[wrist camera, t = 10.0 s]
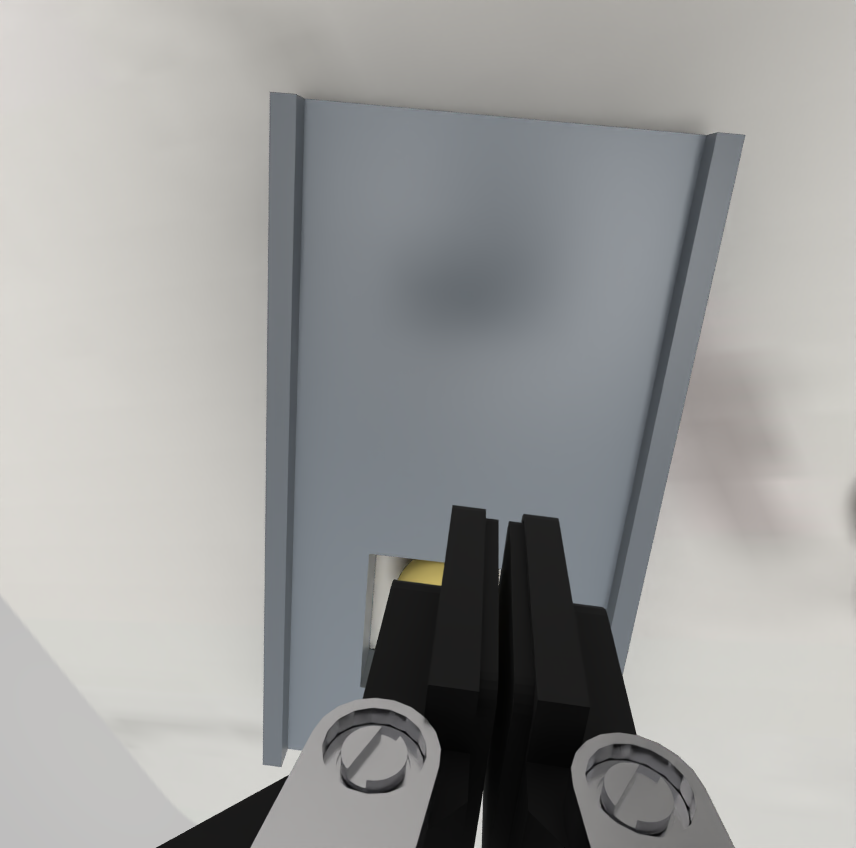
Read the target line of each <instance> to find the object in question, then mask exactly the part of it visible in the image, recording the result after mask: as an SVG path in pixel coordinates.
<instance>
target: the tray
mask: <svg viewBox="0 0 856 848" xmlns="http://www.w3.org/2000/svg"><path fill="white" fill-rule="evenodd" d="M744 139H745V135H741V134H730V133H719V132H717V133H713V134H709V135H700V134H689V133H678V132H667V131H656V130H645V129H634V128H623V127H612V126H601V125H589V124H578V123H567V122H556V121H545V120H534V119H523V118H512V117H501V116H490V115H479V114H468V113H457V112H446V111H435V110H424V109H413V108H402V107H391V106H380V105H369V104H358V103H347V102H336V101H325V100H314V99H304V98H303V97H301V96H299V95H297V94H288V93H277V92H270V136H269V230H268V325H267V420H266V514H265V609H264V703H263V765H270V766H277V767H282V764H283V761H284V758H285V755H286V752H287V749H294V750H303V748H304V746H305V744H306V742H307V741H308V739H309V737H310V735H311V733H312V731H313V730H314V728H315V727H316V726H317V724H318V723H319V722H320V721H321V719H322V718H323V717H324V716H325V715H327V714H328V713H329V712H331V711H332V710H334V709H335V708H337V707H338V706H340V705H343V704H346V703H349V702H352V701H354V700H359V699H363V695H364V691H365V687H366V683H367V679H368V675H369V671H370V667H371V663H372V660H373V656H374V652H375V650H373V649H369V646H370V633H371V619H372V605H373V592H374V578H375V565H376V555H385V556H393V557H402V558H410V559H419V560H427V561H436V562H444V563H445V556H446V548H447V541H448V534H449V527H450V519H451V512H452V505H457V506H465V507H474V508H482V509H486V518H489V519H497V520H499V569H501V568H502V561H503V555H504V548H505V541H506V534H507V528H508V523H509V521H513V522H521V520H522V516H523V514H530V515H538V516H546V517H554V518H558V519H559V523H560V529H561V535H562V541H563V547H564V553H565V559H566V565H567V571H568V577H569V583H570V589H571V595H572V601H573V603H576V604H584V605H592V606H599V607H603V608H605V609H606V612H607V615H608V618H609V622H610V626H611V631H612V635H613V639H614V643H615V647H616V651H617V656H618V660H619V664H620V668H621V672H622V675H623V671H624V666H625V662H626V657H627V653H628V649H629V644H630V640H631V635H632V631H633V627H634V622H635V618H636V613H637V609H638V605H639V600H640V596H641V591H642V587H643V583H644V578H645V574H646V569H647V565H648V561H649V556H650V552H651V548H652V543H653V539H654V534H655V530H656V526H657V521H658V517H659V512H660V508H661V504H662V499H663V495H664V490H665V486H666V482H667V477H668V473H669V468H670V464H671V460H672V455H673V451H674V446H675V442H676V438H677V433H678V429H679V424H680V420H681V416H682V411H683V407H684V402H685V398H686V394H687V389H688V385H689V380H690V376H691V372H692V367H693V363H694V358H695V354H696V350H697V345H698V341H699V337H700V332H701V328H702V323H703V319H704V315H705V310H706V306H707V301H708V297H709V293H710V288H711V284H712V279H713V275H714V271H715V266H716V262H717V257H718V253H719V249H720V244H721V240H722V235H723V231H724V227H725V222H726V218H727V213H728V209H729V205H730V200H731V196H732V191H733V187H734V183H735V178H736V174H737V169H738V165H739V161H740V156H741V152H742V147H743V143H744Z"/></svg>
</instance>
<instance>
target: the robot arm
mask: <svg viewBox="0 0 856 848" xmlns="http://www.w3.org/2000/svg"><path fill="white" fill-rule="evenodd" d="M482 794H483V821H482V848H735V847H734V845H733V843H732V841H731V839H730V837H729V835H728V833H727V831H726V829H725V827H724V825H723V823H722V821H721V819H720V817H719V815H718V813H717V811H716V809H715V807H714V805H713V803H712V801H711V799H710V797H709V795H708V793H707V791H706V789H705V787H704V785H703V784H702V782H701V781H700V779H699V778H698V776H697V775H696V773H695V772H694V770H693V769H692V768H690V767H689V766H688V765H687V764H686V763H685V762H684V761H683V760H682V759H681V758H680V757H679V756H678V755H677V754H675V753H673V752H672V751H670V750H669V749H667V748H665V747H664V746H662V745H661V744H659V743H657V742H654V741H651V740H649V739H646V738H644V737H641V736H638V735H636V730H635V726H634V722H633V718H632V714H631V710H630V706H629V701H628V697H627V693H626V689H625V685H624V681H623V676H622V672H621V668H620V664H619V660H618V656H617V651H616V647H615V643H614V639H613V635H612V631H611V626H610V622H609V618H608V615H607V612H606V609H605V608H603V607H599V606H592V605H584V604H576V603H573V601H572V595H571V589H570V583H569V577H568V571H567V565H566V559H565V553H564V547H563V541H562V535H561V529H560V523H559V519H558V518H554V517H546V516H538V515H530V514H523V516H522V520H521V522H513V521H509V523H508V528H507V534H506V541H505V548H504V555H503V561H502V568H501V575H500V581H499V520H497V519H489V518H486V509H482V508H474V507H465V506H457V505H452V512H451V519H450V527H449V534H448V541H447V548H446V556H445V563H444V570H443V577H442V585H441V586H440V585H432V584H425V583H417V582H409V581H402V580H393V582H392V586H391V589H390V593H389V597H388V601H387V605H386V609H385V613H384V617H383V621H382V624H381V628H380V632H379V636H378V640H377V644H376V648H375V652H374V656H373V660H372V663H371V667H370V671H369V675H368V679H367V683H366V687H365V691H364V695H363V699H359V700H354V701H352V702H349V703H346V704H343V705H340V706H338V707H337V708H335V709H334V710H332V711H331V712H329V713H328V714H327V715H325V716H324V717H323V718H322V719H321V721H320V722H319V723H318V724H317V726H316V727H315V728H314V730H313V731H312V733H311V735H310V737H309V739H308V741H307V742H306V744H305V746H304V748H303V750H302V752H301V754H300V756H299V757H298V759H297V761H296V763H295V765H294V767H293V769H292V771H291V772H290V774H289V775H288V776H286V777H284V778H282V779H281V780H279V781H277V782H275V783H273V784H271V785H270V786H268V787H266V788H264V789H262V790H261V791H259V792H257V793H255V794H253V795H251V796H250V797H248V798H246V799H244V800H242V801H240V802H239V803H237V804H235V805H233V806H231V807H229V808H228V809H226V810H224V811H222V812H220V813H219V814H217V815H215V816H213V817H211V818H209V819H208V820H206V821H204V822H202V823H200V824H198V825H197V826H195V827H193V828H191V829H189V830H188V831H186V832H184V833H182V834H180V835H178V836H177V837H175V838H173V839H171V840H169V841H168V842H166V843H164V844H162V845H160V846H158V847H156V848H474V844H475V838H476V832H477V825H478V819H479V813H480V807H481V800H482Z"/></svg>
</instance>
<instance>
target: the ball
mask: <svg viewBox="0 0 856 848" xmlns="http://www.w3.org/2000/svg"><path fill="white" fill-rule="evenodd" d="M443 570H444V562H436V561H427V560H419V559H414V560H413V561H411V562H410V563H409V564H408V565H407V566H406V567H405V569H404V570H403V571H402V573H401V575H400V576H399V578H398V580H402V581H409V582H417V583H425V584H432V585H440V586H441V585H442V577H443Z"/></svg>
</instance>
